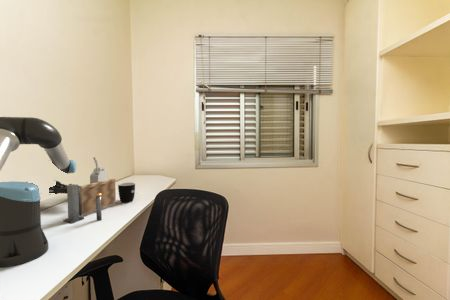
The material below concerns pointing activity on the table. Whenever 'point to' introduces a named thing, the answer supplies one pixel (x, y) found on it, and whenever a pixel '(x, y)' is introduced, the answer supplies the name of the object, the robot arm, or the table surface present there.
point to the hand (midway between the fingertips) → (83, 190)
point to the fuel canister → (98, 174)
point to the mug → (126, 192)
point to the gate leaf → (89, 199)
